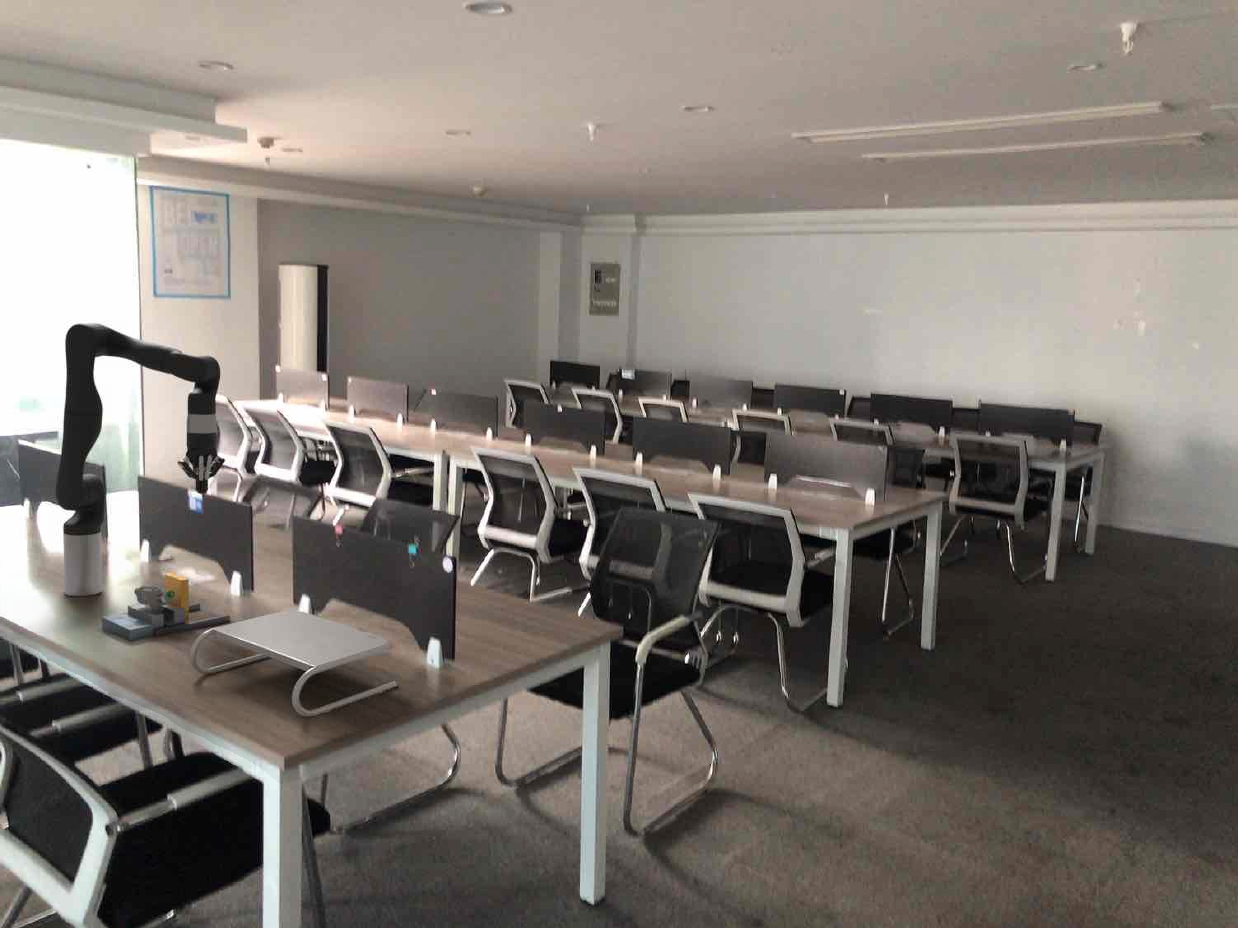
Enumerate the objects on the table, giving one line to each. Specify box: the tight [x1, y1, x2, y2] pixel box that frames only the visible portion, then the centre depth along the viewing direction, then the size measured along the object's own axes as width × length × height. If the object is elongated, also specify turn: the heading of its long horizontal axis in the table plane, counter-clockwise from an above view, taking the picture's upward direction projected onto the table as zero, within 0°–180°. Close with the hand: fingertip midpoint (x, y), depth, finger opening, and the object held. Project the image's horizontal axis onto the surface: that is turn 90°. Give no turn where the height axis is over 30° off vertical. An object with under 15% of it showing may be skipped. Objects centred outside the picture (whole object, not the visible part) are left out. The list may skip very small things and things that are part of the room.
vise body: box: [101, 602, 231, 643], centre depth 255 cm, size 16×26×5 cm, turn 143°
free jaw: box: [149, 572, 190, 628], centre depth 255 cm, size 12×5×12 cm, turn 53°
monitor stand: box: [188, 610, 398, 718], centre depth 221 cm, size 37×28×11 cm
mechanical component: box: [134, 585, 174, 613], centre depth 253 cm, size 3×10×10 cm, turn 78°
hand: (201, 493), depth 270 cm, fingers closed
